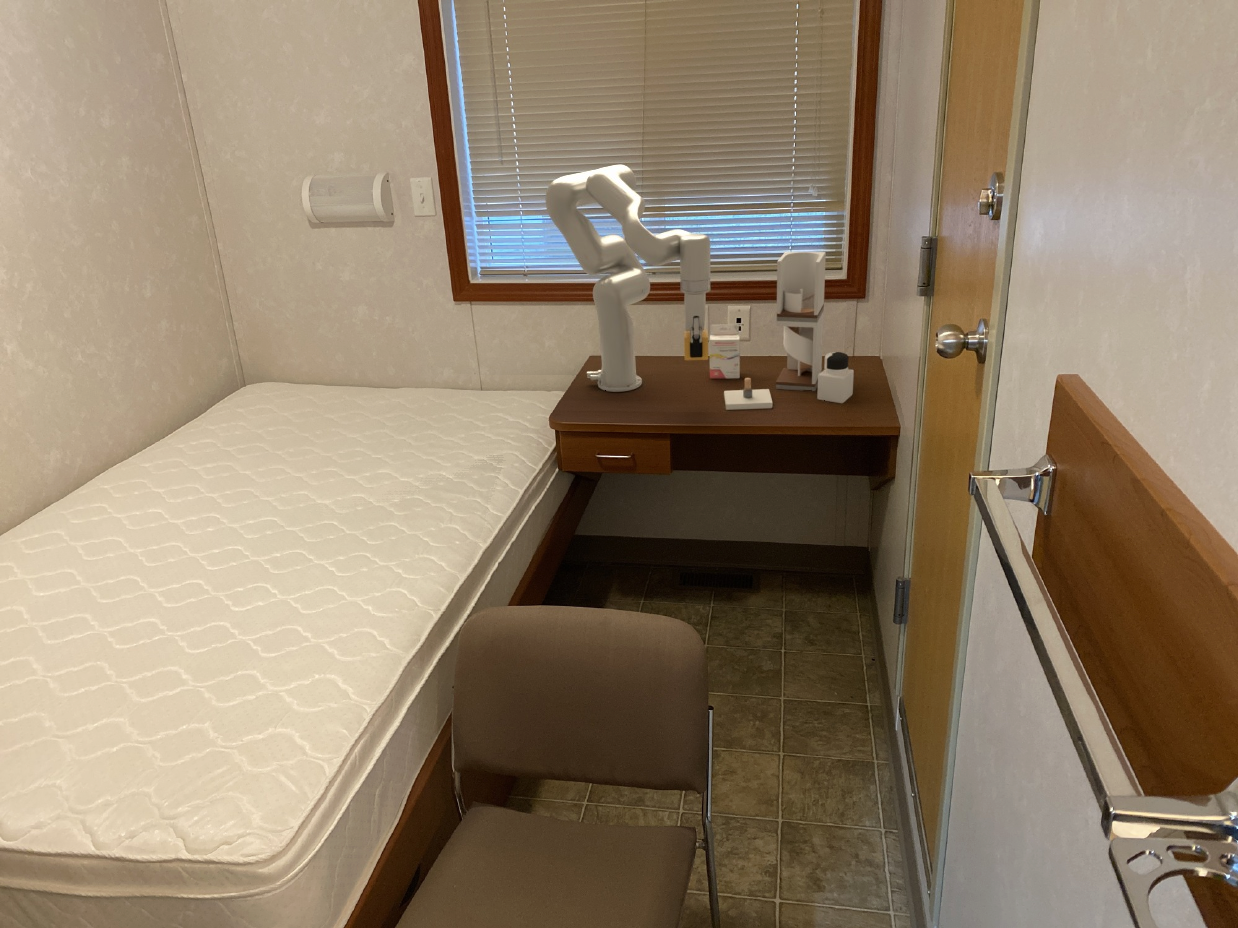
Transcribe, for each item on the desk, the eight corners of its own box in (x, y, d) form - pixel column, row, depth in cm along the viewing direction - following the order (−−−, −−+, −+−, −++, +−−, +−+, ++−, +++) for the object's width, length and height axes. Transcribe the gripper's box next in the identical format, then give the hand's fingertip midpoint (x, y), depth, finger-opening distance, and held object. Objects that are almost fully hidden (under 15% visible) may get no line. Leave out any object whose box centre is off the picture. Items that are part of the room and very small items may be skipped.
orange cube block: (684, 360, 235) (684, 338, 232) (684, 352, 240) (684, 330, 238) (708, 359, 235) (708, 337, 232) (707, 352, 240) (707, 330, 237)
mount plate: (726, 409, 238) (725, 386, 235) (724, 396, 247) (723, 373, 244) (772, 408, 237) (772, 384, 234) (768, 394, 246) (769, 371, 243)
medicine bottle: (852, 395, 242) (855, 351, 237) (842, 404, 237) (844, 360, 232) (827, 391, 246) (829, 348, 241) (816, 399, 240) (818, 356, 235)
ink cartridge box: (709, 379, 260) (708, 329, 253) (709, 373, 264) (708, 324, 258) (740, 378, 259) (739, 328, 252) (739, 372, 263) (739, 323, 257)
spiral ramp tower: (783, 374, 259) (785, 251, 244) (821, 377, 256) (825, 252, 241) (775, 388, 249) (777, 261, 235) (814, 391, 246) (819, 262, 231)
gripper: (680, 276, 237) (681, 342, 245) (680, 294, 222) (681, 364, 230) (709, 275, 237) (709, 341, 245) (711, 293, 221) (711, 363, 229)
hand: (696, 352), depth 237 cm, fingers closed on orange cube block, 5 cm apart
